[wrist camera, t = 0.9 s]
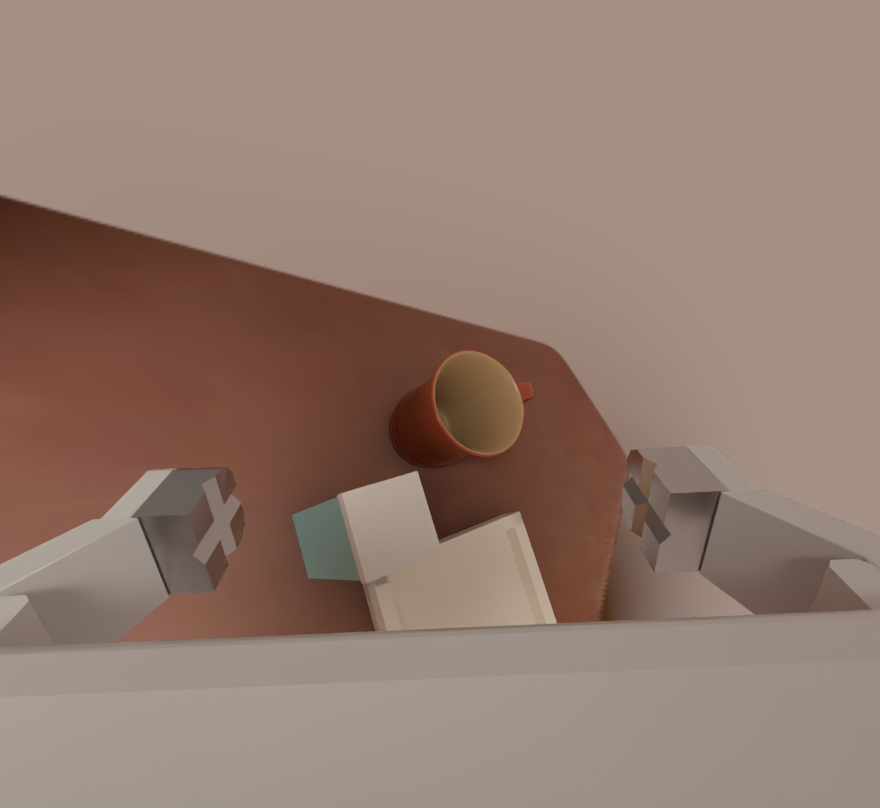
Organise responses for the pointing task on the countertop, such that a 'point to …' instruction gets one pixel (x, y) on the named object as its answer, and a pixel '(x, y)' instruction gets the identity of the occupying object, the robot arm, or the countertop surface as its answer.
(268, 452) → the countertop surface
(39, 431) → the countertop surface
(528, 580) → the tray
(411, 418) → the mug
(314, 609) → the countertop surface
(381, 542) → the tea tin
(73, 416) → the countertop surface
